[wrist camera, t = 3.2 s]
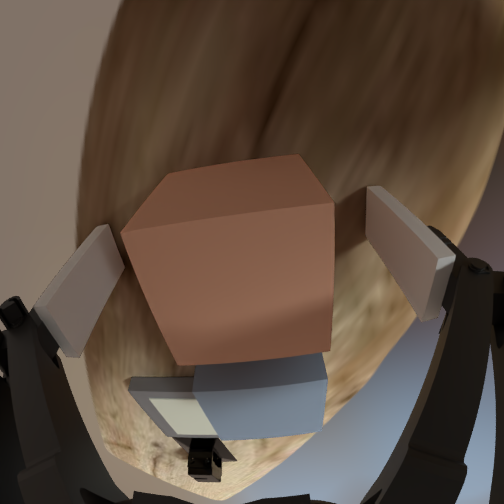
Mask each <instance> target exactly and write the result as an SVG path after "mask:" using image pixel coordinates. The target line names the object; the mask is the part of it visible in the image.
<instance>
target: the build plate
mask: <svg viewBox="0 0 504 504" xmlns="http://www.w3.org/2000/svg"><path fill="white" fill-rule="evenodd" d="M172 438H173V439H174V440H175V441H176V442H177V443H178V444H179V445H180V446H181V447H182V448H183V449H184V450H186V451H187V452H188V453H189V456H188V466H187V467H188V475H189V476H191V477H192V478H194V479H195V480H196V481H198V482H221V476H222V462H229V461H237V460H236V459H235V457H234V456H233V455H232V454H231V453H230V452H229V450H228V449H227V448H226V447H225V445H224V444H223V443H222V442H221V441H220V439H219V438H188V437H172ZM192 458H193V459H192Z"/></svg>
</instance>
